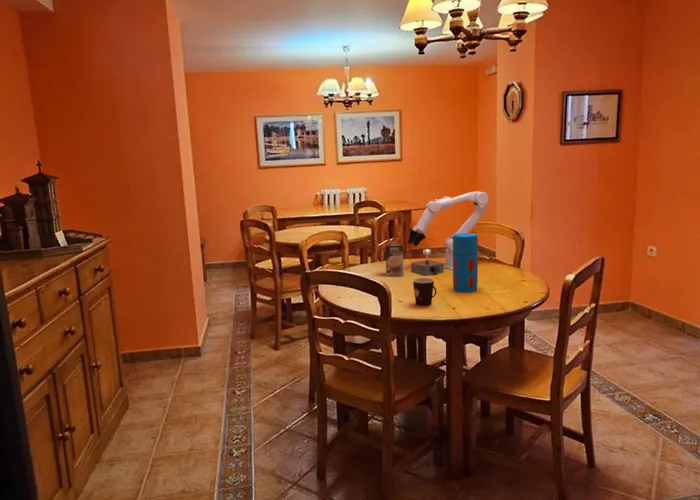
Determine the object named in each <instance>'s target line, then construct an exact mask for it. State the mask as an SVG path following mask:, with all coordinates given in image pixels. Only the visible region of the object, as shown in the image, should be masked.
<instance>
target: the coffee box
mask: <svg viewBox="0 0 700 500" xmlns="http://www.w3.org/2000/svg"><path fill="white" fill-rule="evenodd" d="M385 277H404V243H385Z"/></svg>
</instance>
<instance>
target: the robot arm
mask: <svg viewBox="0 0 700 500" xmlns="http://www.w3.org/2000/svg"><path fill="white" fill-rule="evenodd" d="M466 201H467V202H468V201H470V202H472V203H473V207H474V211H473V212H472V213H471V214H470V216H469V217H468V218H467V219H466V221H464V223H463V224H462V225H461V226H460V227H459V228H458V229H457V231H456V232H455V233H453V234H452V235H450V237H448V238H446V239H445V241H444V246H445V248H446V249H445V265H444V268H445V269H449V270H453V235H454V234H459V233H470V232H471V231H472V229H473V228H474V227H475V226H476V225H477V223H478V222H479V221H480V220H481V219H482V218H483V216H484V215H485V214H486V212H487V207H488V203H489V202H490V200H489V196H488V194H487V193H486V192H484V191H479V190H475V191H470V192H466V193H463V194H461V195H456V196H454V197H451V196H446V195H445V196H443V197H442V198H440V199H437V198H436V199H435V200H430V201H428V203H426V205H425V206H426V208H425V210H424V212H423V213H422V215H421V216H420V218H419V220H418V222H417V223H416V225H413V226H412V228H410V229H409V237H408V239H407V244H409V245H413V246H414V247H418V246H419V244H420V243H421V242H422V241H424V240H425V239H426V238H427V236H426V234H427V230H428V228H429V226H430V224H431V222H432V220H433V219H434V216H435V215H436V214H437V213H439V211H443V210H446V209H450V208H452V207H453V205H455V204H458V203H463V202H466Z"/></svg>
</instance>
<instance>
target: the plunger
mask: <svg viewBox="0 0 700 500" xmlns="http://www.w3.org/2000/svg"><path fill="white" fill-rule="evenodd" d="M422 254H423V256H425V260H426V264H428V260H429V256H431V255H432V249H431V248H424V249H422Z"/></svg>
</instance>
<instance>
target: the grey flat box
mask: <svg viewBox="0 0 700 500" xmlns="http://www.w3.org/2000/svg"><path fill="white" fill-rule="evenodd" d="M444 266H445V263H443V262H439V261H435V260H432V259H428V264H426V259H425V260H421V261H420V260H419V261H415V262H410V272H411V273H414V274H417V275H421V276H424V277H425V276H427V277H428V276H432V274H433V275H438V274H443V273H444V272H445V271H444V270H445V269H444Z"/></svg>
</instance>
